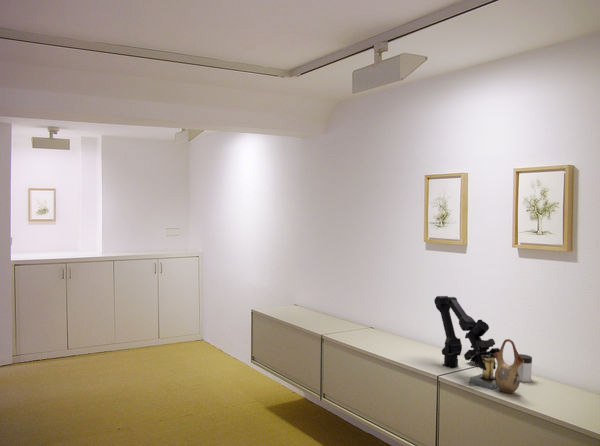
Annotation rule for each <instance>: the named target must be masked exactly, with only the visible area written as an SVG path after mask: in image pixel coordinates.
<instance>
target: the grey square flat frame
mask: <svg viewBox="0 0 600 446" xmlns="http://www.w3.org/2000/svg"><path fill="white" fill-rule="evenodd" d="M470 383H471V384H472V385H475V386H479V387H483V388H487V389H489V390H495V389H497V388H498V386H497V385H496V382H495V376H493V381H486V380H483V379H482V373H480V374H478V375H475V376H471V377H469V384H470ZM498 389H499V388H498Z"/></svg>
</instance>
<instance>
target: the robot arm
mask: <svg viewBox="0 0 600 446" xmlns="http://www.w3.org/2000/svg"><path fill="white" fill-rule="evenodd" d="M433 301H434V304H435V307H436V309H437V310H438V312H439V313H440V317H441V320H442V325H443V330H444V333H445V340H444V347H443V348H442V349H441V354H442V355H444V358H443V359H444V360H443V364H442V367H446V368H450V369H454V368H458V367H460V365H459V359H458V358H459V357H458V356H461V353H462V349H463V347H462V346H463V345H462V340H461V338H458V337H457V336H456V332H455V328H454V324H453V320H452V317H451V313H450V310H452V312H453V313H454V315H455V317H456V318H457V320H458V325H459V327H460V329H461V331H463V332H466V333H465V336H464V338H465V339H468V340H469V342H470V349H468V350H467V351H466V352H465V353H464V354H463V358H464V359H465V361H468V360H469V361H473V362H472V363H473V364H474V363H476V364H475V365H477V366H478V367H479V368H481V369H482V371H483V370H486V368H485V365H484V363H483V361H482V359H481V356H484V355H486V356H491V357H494V358H495V356H494V355H493V353H497V352H499V350H500V349H501V348H499V347H494V346H495V345H496V341H495V340H494V338H488V339H486V340H484V339H482V338H481V337H483V336H484V335H485V334H486V333H488V331H489V329H490V326H489V324H488V323H487V322H485V321H483V319H477V321H475V319H474V318H473V317H472V316H470V315H468V314H467V313H466V312H465V310H464V308H463V307H462V306H461V305H460V303H459V301H458V299H457V297H455V296H448V295H437V296H436V297H435V299H434V300H433ZM490 348H491V349H490ZM473 349H474V350H473ZM471 357H472V359H471ZM495 359H496V358H495ZM496 369H497V367H496V360H495V361H494V369H493V370H496Z"/></svg>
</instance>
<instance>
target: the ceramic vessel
mask: <svg viewBox="0 0 600 446" xmlns="http://www.w3.org/2000/svg"><path fill="white" fill-rule="evenodd" d="M507 342H509V343H511V345H512V350H513V357H514V361H513V362H512V364H511V365H510V364H507V363H506V362H505V360H504V355H503V353H504V349H505V346H506V343H507ZM499 349H500V350H499V352H497V353H493V355H494V356H495V361H496V364H497V367H496V369H495V372H494V377H495V382H496V385H497V386H498V389H499V390H500V391H501V392H502V393H506V394H513V393H514V392H516V391H518V389H519V387H520V382H521V381H520V376H519V373H518V368H519V366H520V365H521V364H523V363H524V360H523V359H522V358H521V357H520V355H519V354H520V353H518V350H517V348H516V344H515V342H514V341H513V340H512V339H510V338H507V339H504V341H503V342H502V344H501V347H500V348H499Z"/></svg>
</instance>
